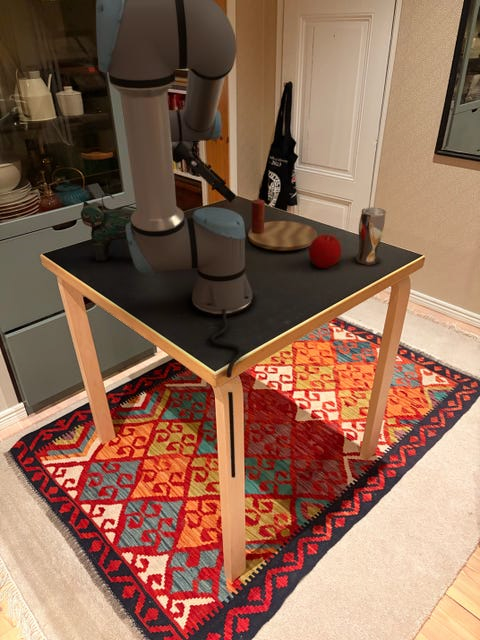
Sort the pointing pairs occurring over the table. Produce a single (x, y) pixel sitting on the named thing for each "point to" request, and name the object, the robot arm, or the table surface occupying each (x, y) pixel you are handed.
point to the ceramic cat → (105, 225)
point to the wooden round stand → (278, 232)
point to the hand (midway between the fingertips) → (228, 192)
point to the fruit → (325, 251)
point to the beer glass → (370, 234)
